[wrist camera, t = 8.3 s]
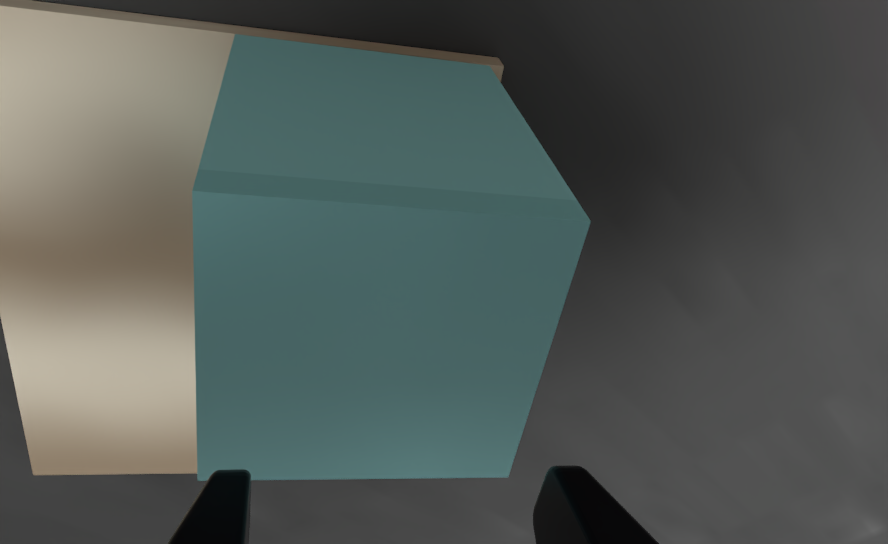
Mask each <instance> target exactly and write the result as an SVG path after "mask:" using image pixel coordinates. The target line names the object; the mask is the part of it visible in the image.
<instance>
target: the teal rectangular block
mask: <svg viewBox="0 0 888 544" xmlns="http://www.w3.org/2000/svg"><path fill="white" fill-rule="evenodd" d="M192 209H193V263H194V316H195V370H196V424H197V478H198V481H207V480H208V478H209V477H210V476H211V474H212V473H213V472H215V471H216V470H234V469H245V470H247V471H249V472H250V474H251V480H313V479H403V478H493V477H508V476H509V473H510V470H511V467H512V464H513V461H514V457H515V454H516V451H517V448H518V445H519V442H520V439H521V436H522V433H523V430H524V427H525V423H526V420H527V417H528V414H529V411H530V408H531V405H532V402H533V399H534V396H535V393H536V389H537V386H538V383H539V380H540V377H541V374H542V371H543V368H544V365H545V362H546V359H547V355H548V352H549V349H550V346H551V343H552V340H553V337H554V334H555V331H556V328H557V325H558V321H559V318H560V315H561V312H562V309H563V306H564V303H565V300H566V297H567V294H568V291H569V287H570V284H571V281H572V278H573V275H574V272H575V269H576V266H577V263H578V260H579V257H580V253H581V250H582V247H583V244H584V241H585V238H586V235H587V232H588V229H589V226H590V223H591V221H590V219H589V218H588V216H587V215H586V213H585V212H584V210H583V208H582V207H581V205H580V204H579V202H578V201H577V199H576V198H575V196H574V195H573V193H572V192H571V190H570V188H569V187H568V185H567V184H566V182H565V181H564V179H563V178H562V176H561V175H560V173H559V172H558V170H557V169H556V167H555V165H554V164H553V162H552V161H551V159H550V158H549V156H548V155H547V153H546V152H545V150H544V149H543V147H542V145H541V144H540V142H539V141H538V139H537V138H536V136H535V135H534V133H533V132H532V130H531V129H530V127H529V126H528V124H527V122H526V121H525V119H524V118H523V116H522V115H521V113H520V112H519V110H518V109H517V107H516V106H515V104H514V102H513V101H512V99H511V98H510V96H509V95H508V93H507V92H506V90H505V89H504V87H503V86H502V84H501V83H500V81H499V79H498V78H497V76H496V75H495V73H494V72H493V70H492V69H491V67H490V66H488V65H480V64H472V63H464V62H456V61H448V60H440V59H432V58H424V57H416V56H408V55H400V54H392V53H384V52H376V51H368V50H360V49H352V48H344V47H336V46H328V45H320V44H312V43H304V42H296V41H288V40H280V39H272V38H264V37H256V36H248V35H240V34H235V36H234V39H233V43H232V47H231V50H230V54H229V58H228V61H227V65H226V69H225V72H224V76H223V80H222V83H221V87H220V91H219V94H218V98H217V102H216V105H215V109H214V113H213V116H212V120H211V124H210V127H209V131H208V135H207V138H206V142H205V146H204V149H203V153H202V157H201V160H200V164H199V168H198V171H197V175H196V179H195V182H194V186H193V190H192Z"/></svg>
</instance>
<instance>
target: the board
mask: <svg viewBox="0 0 888 544" xmlns="http://www.w3.org/2000/svg"><path fill="white" fill-rule="evenodd" d="M235 34H240V35H248V36H256V37H264V38H272V39H280V40H288V41H296V42H304V43H312V44H320V45H328V46H336V47H344V48H352V49H360V50H368V51H376V52H384V53H392V54H400V55H408V56H416V57H424V58H432V59H440V60H448V61H456V62H464V63H472V64H480V65H488V66H490V67H491V69H492V70H493V72H494V73H495V75H496V76H497V78H498V79H499V81H500V83H501V78H502V74H503V69H504V65H503V64H502V63H501V61H500V60H499V58H497V57H489V56H481V55H473V54H464V53H456V52H448V51H440V50H432V49H424V48H415V47H407V46H399V45H391V44H383V43H375V42H367V41H358V40H350V39H342V38H334V37H326V36H318V35H310V34H301V33H293V32H285V31H277V30H269V29H261V28H253V27H244V26H236V25H228V24H220V23H212V22H204V21H196V20H187V19H179V18H171V17H163V16H155V15H147V14H139V13H130V12H122V11H114V10H106V9H98V8H90V7H82V6H73V5H65V4H57V3H49V2H41V1H33V0H0V317H1V322H2V326H3V331H4V336H5V341H6V346H7V351H8V355H9V360H10V365H11V370H12V375H13V380H14V384H15V389H16V394H17V399H18V404H19V409H20V413H21V418H22V423H23V428H24V433H25V438H26V442H27V447H28V452H29V457H30V462H31V467H32V471H33V475H93V474H177V473H197V424H196V370H195V316H194V263H193V209H192V190H193V186H194V182H195V179H196V175H197V171H198V168H199V164H200V160H201V157H202V153H203V149H204V146H205V142H206V138H207V135H208V131H209V127H210V124H211V120H212V116H213V113H214V109H215V105H216V102H217V98H218V94H219V91H220V87H221V83H222V80H223V76H224V72H225V69H226V65H227V61H228V58H229V54H230V50H231V47H232V43H233V39H234V36H235Z"/></svg>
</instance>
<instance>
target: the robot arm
mask: <svg viewBox="0 0 888 544" xmlns="http://www.w3.org/2000/svg"><path fill="white" fill-rule="evenodd" d="M250 498H251V474H250V472H249V471H247V470H245V469H234V470H216V471H215V472H213V473H212V474H211V476H210V477H209V478H208V480H207V482H206V483H205V485H204V486H203V488H202V490H201V491H200V493H199V494H198V496H197V498H196V499H195V501H194V502H193V504H192V506H191V507H190V509H189V510H188V512H187V514H186V515H185V517H184V518H183V520H182V521H181V523H180V525H179V526H178V528H177V529H176V531H175V533H174V534H173V536H172V537H171V539H170V541H169V542H168V544H248V542H249V525H250ZM533 526H534V532H535V539H536V544H659V543H658V542H657V541H656V540H655V539H654V538H653V537H652V536H651V535H650V534H649V533H648V532H647V531H646V530H645V529H644V528H643V527H642V526H641V525H640V524H639V523H638V522H637V521H636V520H635V519H634V518H633V517H632V516H631V515H630V514H629V513H628V512H627V511H626V510H625V509H624V508H623V507H622V506H621V505H620V504H619V503H618V502H617V501H616V500H615V499H614V498H613V497H612V496H611V495H610V494H609V493H608V492H607V491H606V489H605V488H604V487H603V486H602V485H601V484H600V483H599V482H598V481H597V480H596V479H595V478H594V477H593V476H592V475H591V474H590V473H589V472H588V471H587V470H585V469H584V468H582V467H580V466H553V467H551V468H550V469H549V470H548V472H547V474H546V476H545V479H544V482H543V484H542V487H541V490H540V493H539V496H538V498H537V501H536V504H535V507H534V513H533Z"/></svg>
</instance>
